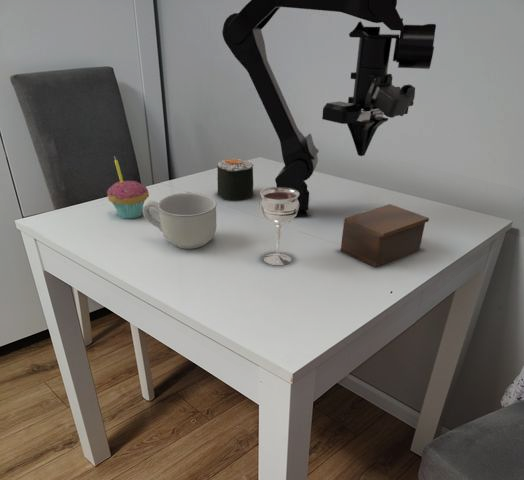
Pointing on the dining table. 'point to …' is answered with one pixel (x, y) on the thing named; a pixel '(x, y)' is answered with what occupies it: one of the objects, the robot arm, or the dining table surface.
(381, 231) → the lid
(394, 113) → the robot arm
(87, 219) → the dining table surface
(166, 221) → the teacup
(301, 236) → the dining table surface
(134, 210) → the cupcake
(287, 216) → the wineglass
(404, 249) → the chest
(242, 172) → the sushi
